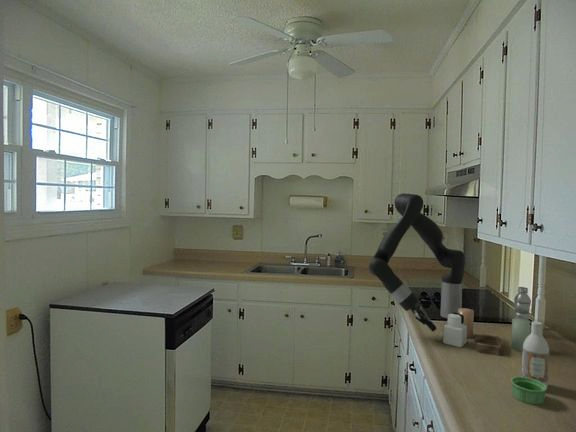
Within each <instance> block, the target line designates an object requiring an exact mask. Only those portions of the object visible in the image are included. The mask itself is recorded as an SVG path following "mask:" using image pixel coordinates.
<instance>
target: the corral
mask: <svg viewBox="0 0 576 432" xmlns="http://www.w3.org/2000/svg"><path fill="white" fill-rule="evenodd" d="M474 342H475V343H476V342H477V343H476V352H477V353H482V354H483V353H484V354H490V355H496V356H501V357H502V356H503V354H504V353H503V352H504V351H503V349H504V347H503V345H502V343H501V340H500V337H499V335H498V336H497V335H492V334H482V333H474Z"/></svg>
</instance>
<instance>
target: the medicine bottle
mask: <svg viewBox="0 0 576 432" xmlns="http://www.w3.org/2000/svg"><path fill="white" fill-rule="evenodd" d="M442 331H443V335H442V336H443V337H442V343H443V344H445V345H449V346H454V347H457V348H462V347H464V345H466V344H467V339H468V338H467V326H466V325H464V316H463V315H462V314H460V313H455V312H452V313H449V314H448V318H447V323H446V324H445V325H444V326H443V330H442Z"/></svg>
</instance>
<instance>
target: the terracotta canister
mask: <svg viewBox="0 0 576 432" xmlns="http://www.w3.org/2000/svg"><path fill="white" fill-rule="evenodd" d="M458 313H460V314H462V315H463V316H464V325H466V326H467V339H472V338H473V337H474V318H475V317H474V316H475V315H474V313H475V310H474V309H471V308H465V307H461V308H459V309H458Z"/></svg>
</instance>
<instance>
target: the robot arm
mask: <svg viewBox="0 0 576 432" xmlns="http://www.w3.org/2000/svg"><path fill="white" fill-rule="evenodd" d="M393 204H394V208H395V210H396V212H397V213H398V214H400V215H401V216H402V217H401V218H400V220H399V221H398V222H397V223H395V224H394V225H393V226H392V227H390V229H388V231H386V232H385V234H384V236H383V238H382V240H381V241H380V243H379V245H378V248H377V251H376V252H375V254H374V255H373V257H372V259H371V260H370V262H369V265H368V271H369V273H370V274H371V275H373V276H376V277H377V279H378V280H380V282H381V283H382V285H383V287H384V288H385V289H386V290H387V291H388V293H390V294H391V296H392V297H393V299H394V301H396V302H397V304H399V306H400V307H401V308H402V309H403V310H404V311H405V312H409V310H411V312H412V315H413V316H414V318H415V319H416V320H417V321H418V322H420V323H421V324H422V325H426V326H427V327H428V328H429V329H430V330H431V331H432V332H435V331H436V330H437V326H436V325H435V324H434V323H433V321H432V320H431V318H430V316H429V315H428V313H427V312H426V310H425V308H424V306H422V305H419V304H418V303H419V302H420V298H419V297H418V296H417V295H416V294H415V292H413V291H412V290H411V288H410V287H409V286H407V284H405V283H404V282H403V280H401V279H400V277H398V275H396V274H395V272H394V271H393V270H392V268H391V266H390V265H389V262H390V260H391V258H392V257H393V256H394V254H395V252H396V250H397V249H398V246H399V244H400V243H401V240H402V239H403V237H404V236H405V234H406V232H408V230H410V228H411V227H412V228H413V230H414V231H415V232H416V233H417V234H418V236H419V237H420V238H421V239H422V240H423V242H424V243H425V245H427V246H428V248H429V250H431V252H432V253H433V254H434V256H435V258H436V260H437V261H438V263H439V264H440V265H441V266H442V267H443V268H448V269H451V270H450V272H449V273H448V274H443V275H442V277H441V293H440V294H441V295H440V317H442V318H445V319H448V314H449V313H452V312H455V313H458V309H459V308H463V307H462V304H463V303H462V302H463V299H462V298H463V297H462V293H463V292H462V291H463V290H462V288H463V279H464V274H465V264H466V263H465V262H466V257H465V254H464V252H463V251H462V250H458V249H451V248H448V247H446V246H445V244H443V240H444V233H443V231H442V229H441V228H440V227H439V226H438V224H437V223H436V222H435V221H434V220H432V219H431V218H430V217H428V216H426V215H425V214H424V213H422V211H423V207H424V199H423V198H422V196H421V195H418V194H414V193H404V192H403V193H400V194H397V195H396V197H395V199H394V203H393Z"/></svg>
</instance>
